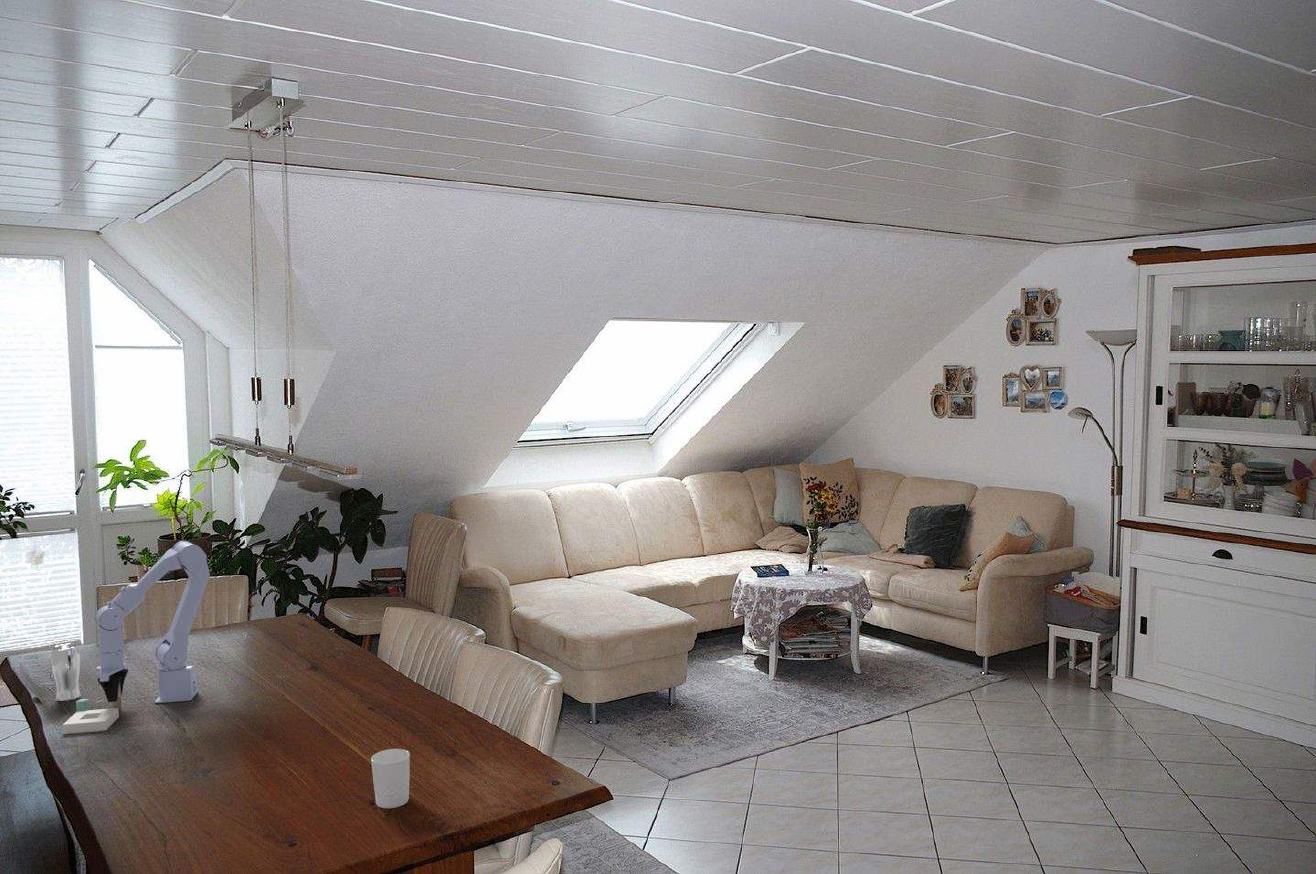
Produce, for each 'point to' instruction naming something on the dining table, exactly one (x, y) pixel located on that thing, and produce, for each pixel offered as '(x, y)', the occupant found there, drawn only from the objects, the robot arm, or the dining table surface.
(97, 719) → the collar block
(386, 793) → the white cup
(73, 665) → the beer glass
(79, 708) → the short teal pin
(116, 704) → the long beech pin
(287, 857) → the dining table surface
